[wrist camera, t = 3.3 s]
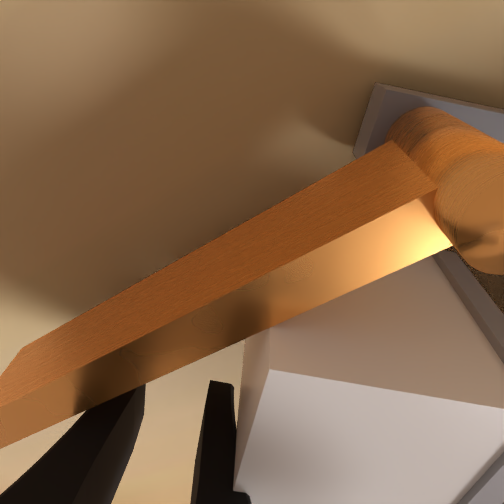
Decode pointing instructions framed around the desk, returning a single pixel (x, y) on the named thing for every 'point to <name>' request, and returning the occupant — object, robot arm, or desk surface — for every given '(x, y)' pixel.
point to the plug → (378, 396)
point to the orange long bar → (274, 269)
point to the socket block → (402, 100)
